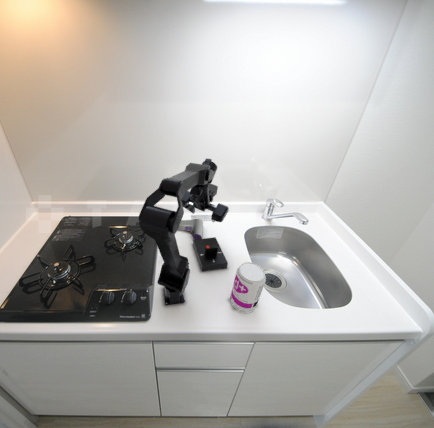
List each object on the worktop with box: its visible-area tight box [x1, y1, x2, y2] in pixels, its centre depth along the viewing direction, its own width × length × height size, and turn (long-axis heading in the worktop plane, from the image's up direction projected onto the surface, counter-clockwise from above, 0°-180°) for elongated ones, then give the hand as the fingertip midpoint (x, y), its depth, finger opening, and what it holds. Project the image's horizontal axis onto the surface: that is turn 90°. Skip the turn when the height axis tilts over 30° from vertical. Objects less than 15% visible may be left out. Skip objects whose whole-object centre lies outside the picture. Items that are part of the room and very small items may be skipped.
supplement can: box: [229, 261, 267, 314], centre depth 64 cm, size 8×8×15 cm
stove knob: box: [205, 245, 218, 256], centre depth 81 cm, size 5×2×4 cm, turn 99°
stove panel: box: [192, 237, 229, 272], centre depth 85 cm, size 15×10×3 cm, turn 9°
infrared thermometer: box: [177, 218, 204, 240], centre depth 97 cm, size 5×12×15 cm
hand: (203, 217), depth 84 cm, fingers open, 9 cm apart
